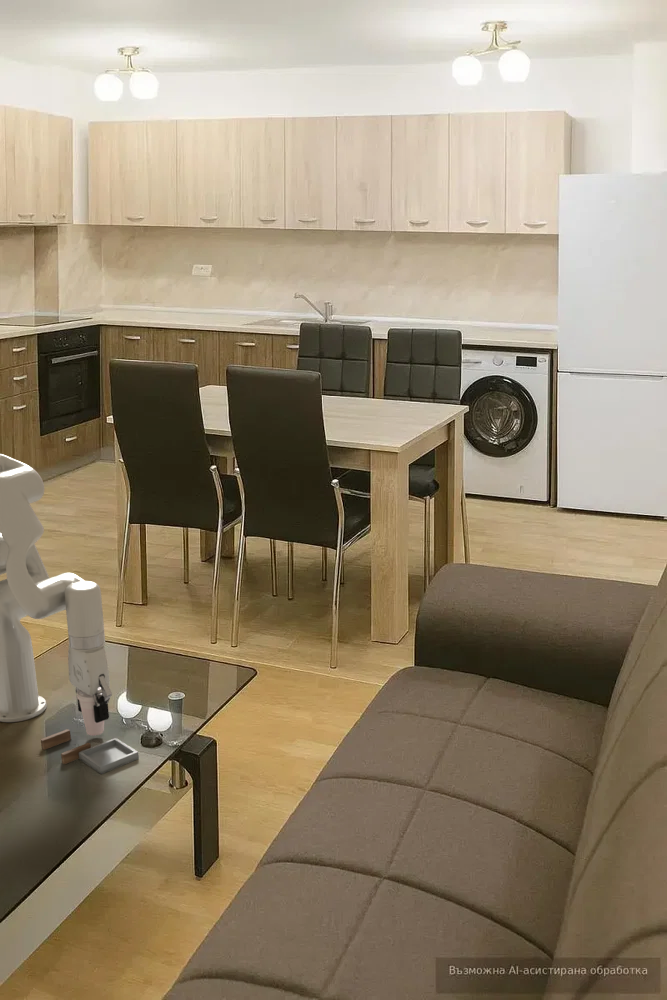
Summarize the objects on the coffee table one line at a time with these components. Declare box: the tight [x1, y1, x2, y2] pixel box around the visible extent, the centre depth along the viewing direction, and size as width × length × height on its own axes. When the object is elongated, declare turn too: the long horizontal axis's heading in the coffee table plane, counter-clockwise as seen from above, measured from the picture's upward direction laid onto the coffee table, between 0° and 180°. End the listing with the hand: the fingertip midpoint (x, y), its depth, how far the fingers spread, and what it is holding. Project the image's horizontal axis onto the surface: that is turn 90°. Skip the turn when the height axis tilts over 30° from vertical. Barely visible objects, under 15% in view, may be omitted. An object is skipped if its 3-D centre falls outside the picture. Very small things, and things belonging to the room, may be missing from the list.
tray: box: [78, 737, 140, 775], centre depth 232 cm, size 9×9×2 cm
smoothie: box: [76, 687, 105, 737], centre depth 239 cm, size 6×6×14 cm
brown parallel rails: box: [40, 728, 92, 765], centre depth 236 cm, size 10×6×2 cm, turn 42°
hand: (93, 714), depth 240 cm, fingers closed on smoothie, 6 cm apart
